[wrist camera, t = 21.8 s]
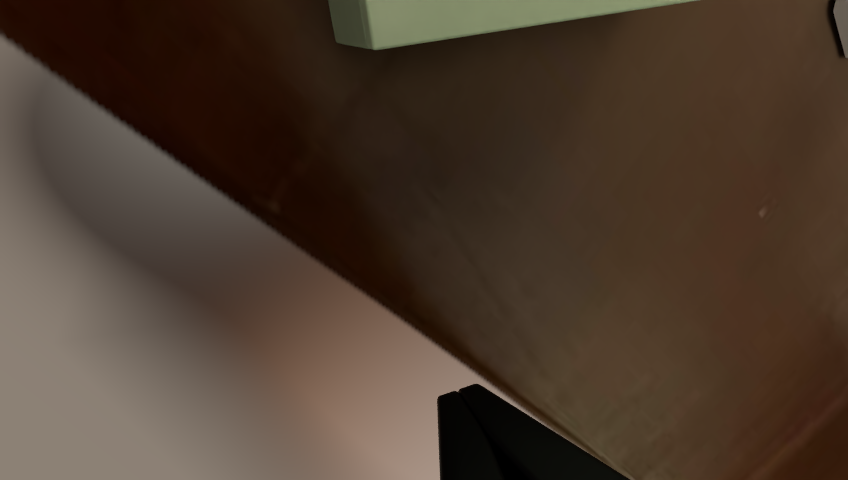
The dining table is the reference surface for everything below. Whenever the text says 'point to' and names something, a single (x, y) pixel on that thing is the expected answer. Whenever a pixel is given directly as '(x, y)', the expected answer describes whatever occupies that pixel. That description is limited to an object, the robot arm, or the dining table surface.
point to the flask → (842, 22)
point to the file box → (348, 22)
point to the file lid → (476, 17)
